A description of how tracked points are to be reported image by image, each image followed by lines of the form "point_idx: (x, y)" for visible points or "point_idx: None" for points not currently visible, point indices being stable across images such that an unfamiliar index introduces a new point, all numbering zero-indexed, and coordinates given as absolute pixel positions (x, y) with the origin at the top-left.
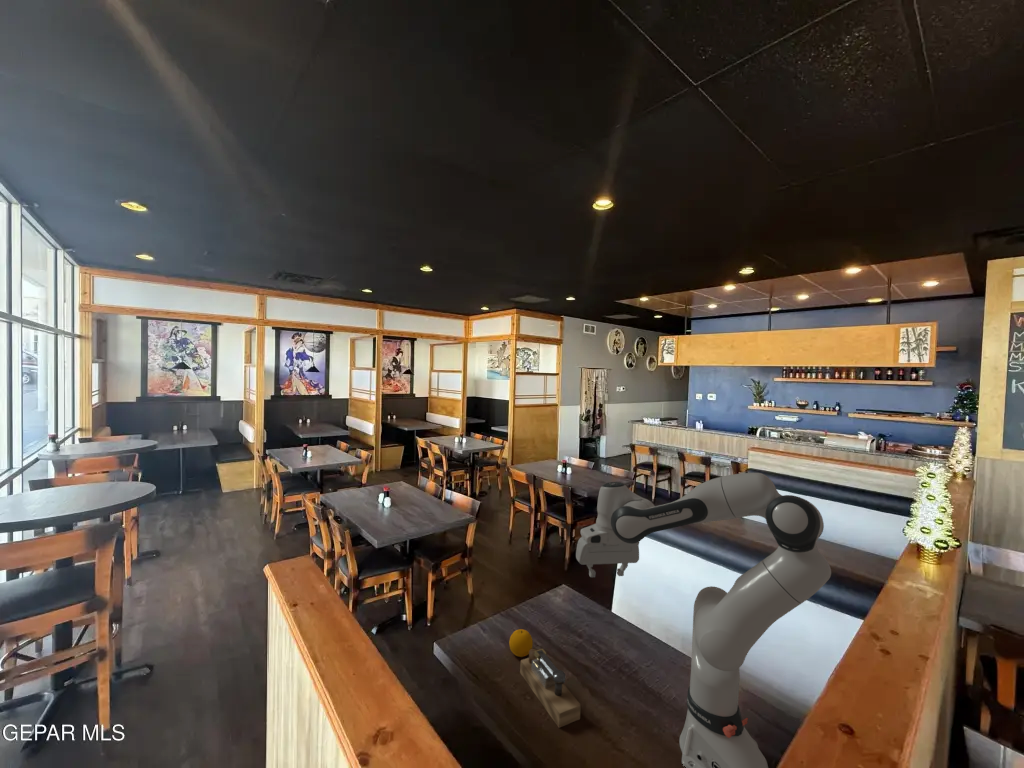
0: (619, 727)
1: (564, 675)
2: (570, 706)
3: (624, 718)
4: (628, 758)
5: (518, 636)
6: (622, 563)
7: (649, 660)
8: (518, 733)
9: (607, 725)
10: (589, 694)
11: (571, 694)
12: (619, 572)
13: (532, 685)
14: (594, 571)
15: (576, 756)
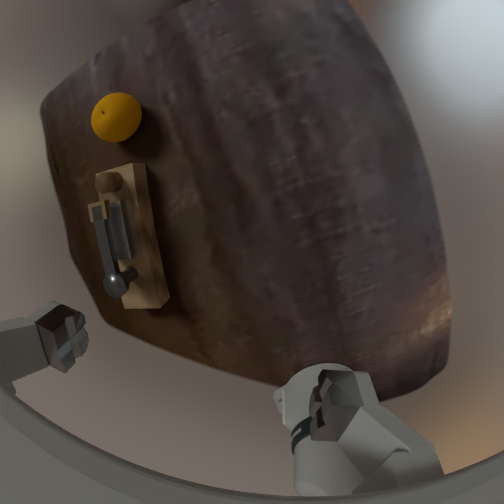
0: (224, 330)
1: (122, 292)
2: (143, 304)
3: (242, 321)
4: (210, 366)
5: (94, 124)
6: (368, 487)
7: (390, 218)
8: (88, 284)
9: (207, 321)
10: (208, 259)
11: (152, 284)
12: (310, 429)
13: None
14: (57, 362)
15: (146, 339)
